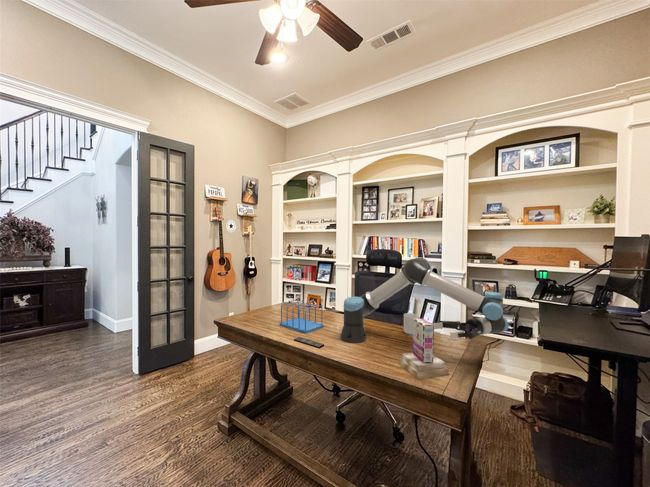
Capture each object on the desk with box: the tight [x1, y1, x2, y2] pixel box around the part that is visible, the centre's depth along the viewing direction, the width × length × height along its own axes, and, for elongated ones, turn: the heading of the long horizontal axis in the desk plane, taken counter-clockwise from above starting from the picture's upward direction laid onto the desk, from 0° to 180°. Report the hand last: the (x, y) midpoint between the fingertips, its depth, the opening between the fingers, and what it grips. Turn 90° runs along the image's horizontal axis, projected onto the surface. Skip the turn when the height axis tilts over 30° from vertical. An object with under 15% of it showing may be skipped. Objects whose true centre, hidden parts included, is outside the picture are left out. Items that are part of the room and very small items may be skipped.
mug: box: [403, 312, 419, 336], centre depth 172 cm, size 12×9×11 cm
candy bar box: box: [412, 318, 435, 363], centre depth 122 cm, size 11×5×16 cm, turn 5°
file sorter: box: [279, 299, 325, 334], centre depth 183 cm, size 25×17×15 cm
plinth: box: [398, 351, 450, 380], centre depth 122 cm, size 15×15×5 cm
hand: (440, 330), depth 125 cm, fingers open, 13 cm apart
